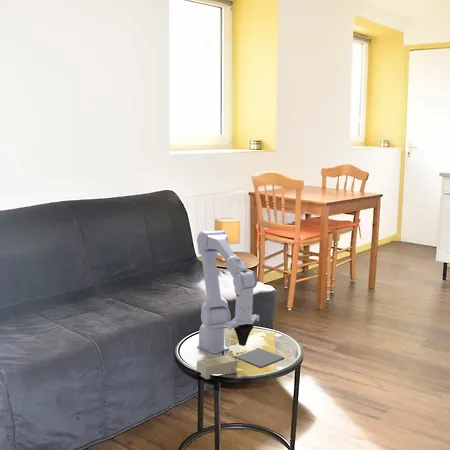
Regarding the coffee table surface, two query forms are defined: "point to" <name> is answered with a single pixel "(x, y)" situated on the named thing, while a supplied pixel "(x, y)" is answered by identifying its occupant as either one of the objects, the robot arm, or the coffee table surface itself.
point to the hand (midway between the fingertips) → (242, 344)
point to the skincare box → (217, 366)
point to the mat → (259, 357)
